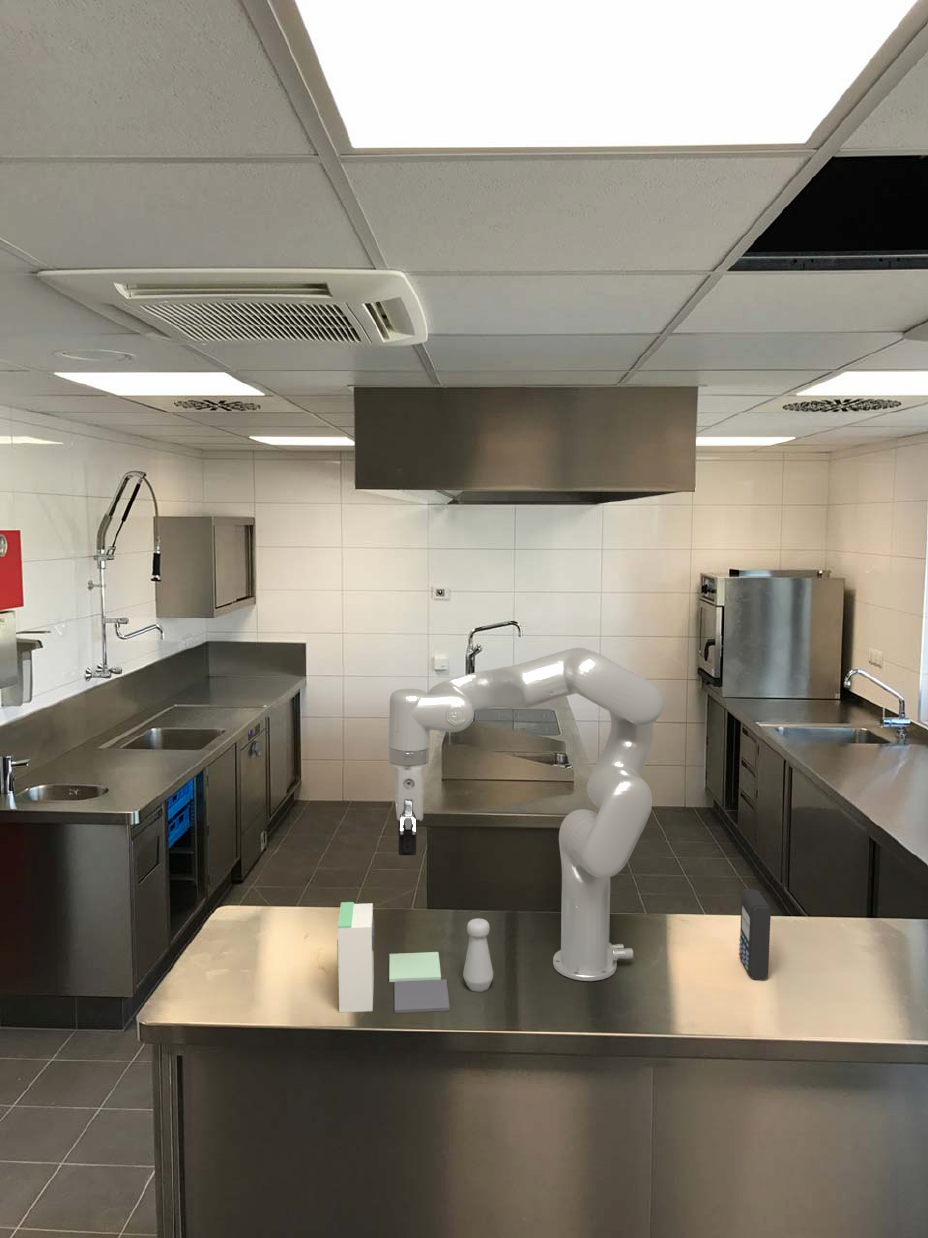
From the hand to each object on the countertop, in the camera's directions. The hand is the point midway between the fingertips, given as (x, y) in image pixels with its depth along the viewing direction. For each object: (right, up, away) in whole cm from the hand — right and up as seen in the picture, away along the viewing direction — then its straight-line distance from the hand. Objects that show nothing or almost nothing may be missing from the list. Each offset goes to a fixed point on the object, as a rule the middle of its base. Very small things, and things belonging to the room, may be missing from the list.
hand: (406, 845), depth 165 cm
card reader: (+68, -27, +10) cm, 74 cm away
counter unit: (-9, -28, 0) cm, 30 cm away
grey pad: (+3, -28, 0) cm, 29 cm away
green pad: (+1, -27, +10) cm, 29 cm away
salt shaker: (+13, -28, +3) cm, 31 cm away
